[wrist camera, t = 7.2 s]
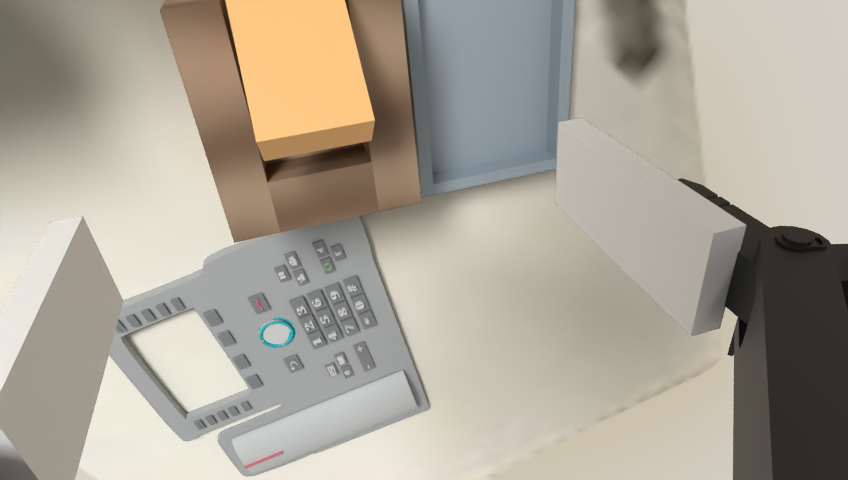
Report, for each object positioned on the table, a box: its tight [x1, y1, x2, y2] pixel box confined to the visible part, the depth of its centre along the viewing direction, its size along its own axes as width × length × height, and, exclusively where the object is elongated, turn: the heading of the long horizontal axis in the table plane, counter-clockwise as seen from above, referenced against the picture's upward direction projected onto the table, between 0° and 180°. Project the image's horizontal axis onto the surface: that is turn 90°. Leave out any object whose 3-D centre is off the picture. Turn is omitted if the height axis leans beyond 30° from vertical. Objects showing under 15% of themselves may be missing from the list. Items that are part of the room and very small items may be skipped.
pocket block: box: [160, 0, 421, 243], centre depth 32 cm, size 12×11×8 cm
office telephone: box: [109, 216, 429, 476], centre depth 45 cm, size 23×3×20 cm
